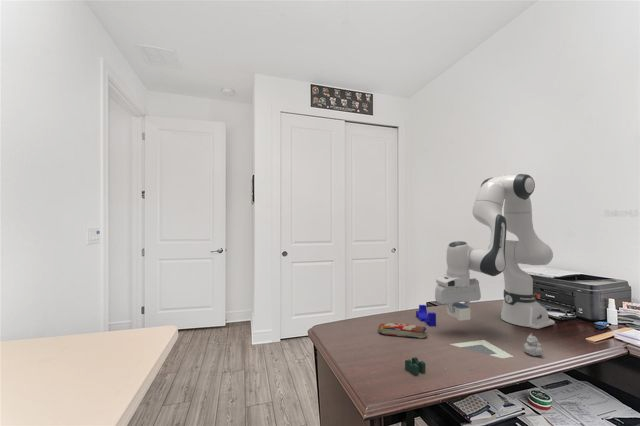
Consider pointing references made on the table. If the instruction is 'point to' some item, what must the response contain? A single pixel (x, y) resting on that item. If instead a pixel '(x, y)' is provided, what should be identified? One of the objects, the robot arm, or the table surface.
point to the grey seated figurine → (533, 346)
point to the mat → (483, 348)
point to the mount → (415, 366)
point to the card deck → (460, 311)
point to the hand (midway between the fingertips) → (458, 311)
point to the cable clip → (426, 316)
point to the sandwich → (403, 330)
